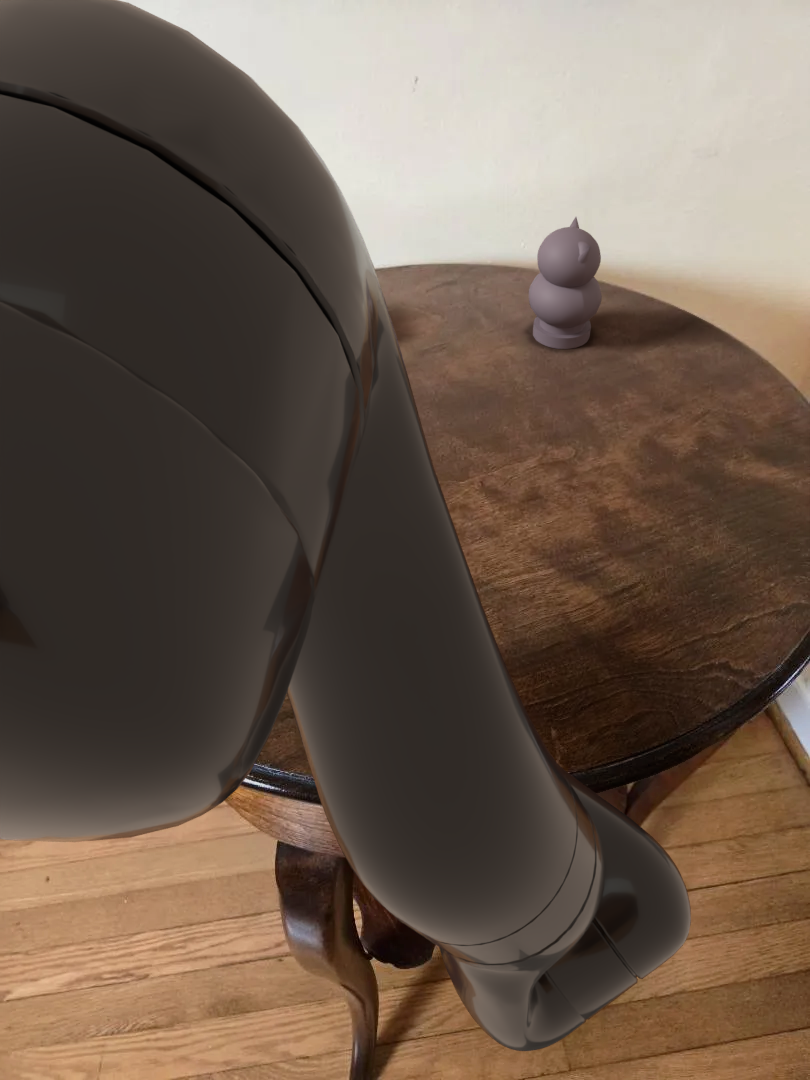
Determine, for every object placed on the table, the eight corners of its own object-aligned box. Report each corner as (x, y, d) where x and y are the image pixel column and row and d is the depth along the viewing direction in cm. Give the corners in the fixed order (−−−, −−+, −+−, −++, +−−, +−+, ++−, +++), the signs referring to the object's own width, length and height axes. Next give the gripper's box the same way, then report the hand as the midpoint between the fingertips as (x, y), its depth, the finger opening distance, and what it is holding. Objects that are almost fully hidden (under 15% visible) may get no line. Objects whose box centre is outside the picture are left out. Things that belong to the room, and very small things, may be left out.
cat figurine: (519, 316, 98) (528, 214, 90) (586, 313, 98) (601, 211, 90) (531, 355, 92) (542, 249, 84) (603, 352, 92) (620, 246, 84)
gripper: (499, 560, 46) (369, 410, 57) (254, 658, 41) (161, 475, 52) (491, 648, 51) (373, 495, 62) (272, 743, 47) (185, 561, 57)
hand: (277, 486), depth 57 cm, fingers open, 8 cm apart
